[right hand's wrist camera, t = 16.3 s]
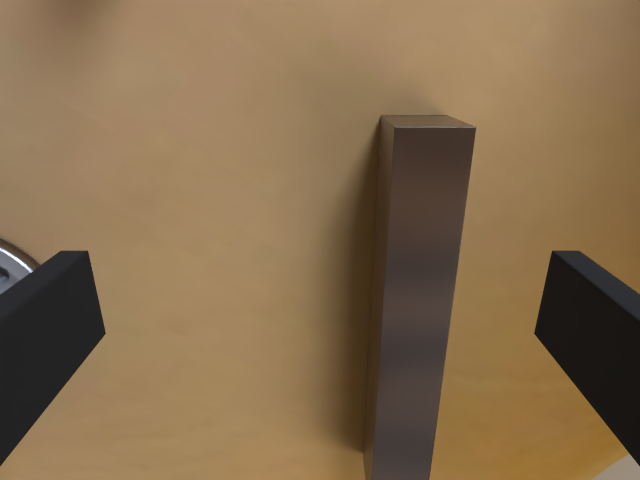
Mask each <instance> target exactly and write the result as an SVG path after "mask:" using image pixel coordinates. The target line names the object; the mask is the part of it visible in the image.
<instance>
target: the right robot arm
mask: <svg viewBox="0 0 640 480" xmlns="http://www.w3.org/2000/svg"><path fill="white" fill-rule="evenodd" d="M105 334H106V333H105V328H104V323H103V319H102V314H101V309H100V305H99V300H98V295H97V291H96V286H95V281H94V277H93V272H92V267H91V263H90V258H89V253H88V251H60V252H58V253H57V254H56V255H54V256H53V257H52V258H50V259H49V260H47V261H46V262H45V263H43V264H42V265H39V264H38V263H37V262H36V261H35V260H34V259H32V258H31V257H30V256H29V255H27V254H26V253H25V252H23V251H22V250H20V249H19V248H17V247H15V246H13V245H12V244H10V243H8V242H6V241H4V240H2V239H0V466H1V465H2V463H3V462H4V461H5V460H6V458H7V457H8V456H9V455H10V453H11V452H12V451H13V449H14V448H15V447H16V446H17V444H18V443H19V442H20V441H21V439H22V438H23V437H24V436H25V434H26V433H27V432H28V431H29V429H30V428H31V427H32V426H33V424H34V423H35V422H36V421H37V419H38V418H39V417H40V416H41V414H42V413H43V412H44V410H45V409H46V408H47V407H48V405H49V404H50V403H51V402H52V400H53V399H54V398H55V397H56V395H57V394H58V393H59V392H60V390H61V389H62V388H63V387H64V385H65V384H66V383H67V382H68V380H69V379H70V378H71V377H72V375H73V374H74V373H75V372H76V370H77V369H78V368H79V366H80V365H81V364H82V363H83V361H84V360H85V359H86V358H87V356H88V355H89V354H90V353H91V351H92V350H93V349H94V348H95V346H96V345H97V344H98V343H99V341H100V340H101V339H102V338H103V336H104V335H105ZM534 334H535V335H536V336H537V338H538V339H539V340H540V341H541V343H542V344H543V345H544V346H545V348H546V349H547V350H548V351H549V353H550V354H551V355H552V356H553V358H554V359H555V360H556V361H557V363H558V364H559V365H560V366H561V368H562V369H563V370H564V372H565V373H566V374H567V375H568V377H569V378H570V379H571V380H572V382H573V383H574V384H575V385H576V387H577V388H578V389H579V390H580V392H581V393H582V394H583V395H584V397H585V398H586V399H587V400H588V402H589V403H590V404H591V405H592V407H593V408H594V409H595V410H596V412H597V413H598V414H599V416H600V417H601V418H602V419H603V421H604V422H605V423H606V424H607V426H608V427H609V428H610V429H611V431H612V432H613V433H614V434H615V436H616V437H617V438H618V439H619V441H620V442H621V443H622V444H623V446H624V447H625V448H626V449H627V451H628V452H629V453H630V455H631V456H632V457H633V458H634V460H635V461H636V462H637V463H638V465H639V466H640V294H638V293H637V292H636V291H634V290H633V289H631V288H630V287H629V286H627V285H626V284H625V283H623V282H622V281H620V280H619V279H618V278H616V277H615V276H613V275H612V274H611V273H609V272H608V271H606V270H605V269H604V268H602V267H601V266H600V265H598V264H597V263H595V262H594V261H593V260H591V259H590V258H588V257H587V256H586V255H584V254H583V253H582V252H580V251H552V253H551V258H550V263H549V267H548V272H547V277H546V281H545V286H544V291H543V295H542V300H541V305H540V309H539V314H538V319H537V323H536V328H535V333H534Z"/></svg>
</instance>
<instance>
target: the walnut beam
mask: <svg viewBox="0 0 640 480" xmlns="http://www.w3.org/2000/svg"><path fill="white" fill-rule="evenodd" d="M475 132H476V127H474V126H472V125H469V124H467V123H465V122H462V121H460V120H457V119H455V118H452V117H450V116H447V115H381V124H380V143H379V162H378V180H377V199H376V218H375V236H374V255H373V274H372V292H371V311H370V329H369V348H368V367H367V385H366V404H365V423H364V441H363V460H364V470H365V479H366V480H429V477H430V470H431V462H432V455H433V447H434V440H435V432H436V425H437V417H438V410H439V402H440V395H441V387H442V380H443V372H444V364H445V357H446V349H447V342H448V334H449V327H450V319H451V312H452V304H453V297H454V289H455V282H456V274H457V267H458V259H459V252H460V244H461V237H462V229H463V222H464V214H465V207H466V199H467V192H468V184H469V177H470V169H471V162H472V154H473V147H474V139H475Z"/></svg>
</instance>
